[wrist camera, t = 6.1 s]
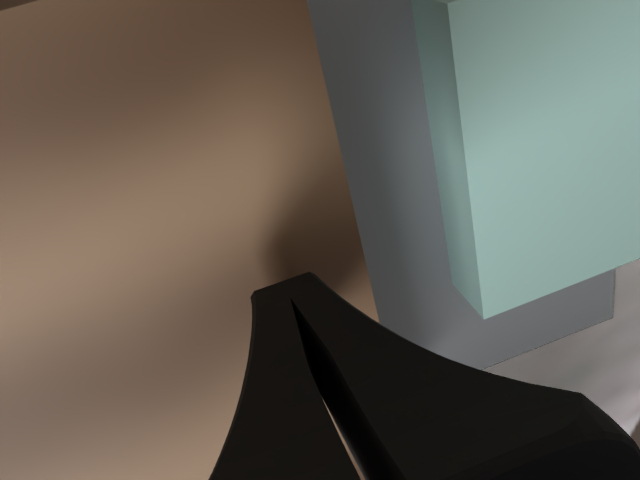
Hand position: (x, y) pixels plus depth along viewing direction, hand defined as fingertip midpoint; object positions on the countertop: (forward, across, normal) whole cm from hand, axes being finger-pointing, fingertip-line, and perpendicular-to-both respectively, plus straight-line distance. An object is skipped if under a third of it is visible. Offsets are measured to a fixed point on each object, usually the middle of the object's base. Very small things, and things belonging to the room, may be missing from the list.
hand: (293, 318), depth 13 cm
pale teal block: (+2, -8, 0) cm, 9 cm away
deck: (+5, +4, 0) cm, 6 cm away
